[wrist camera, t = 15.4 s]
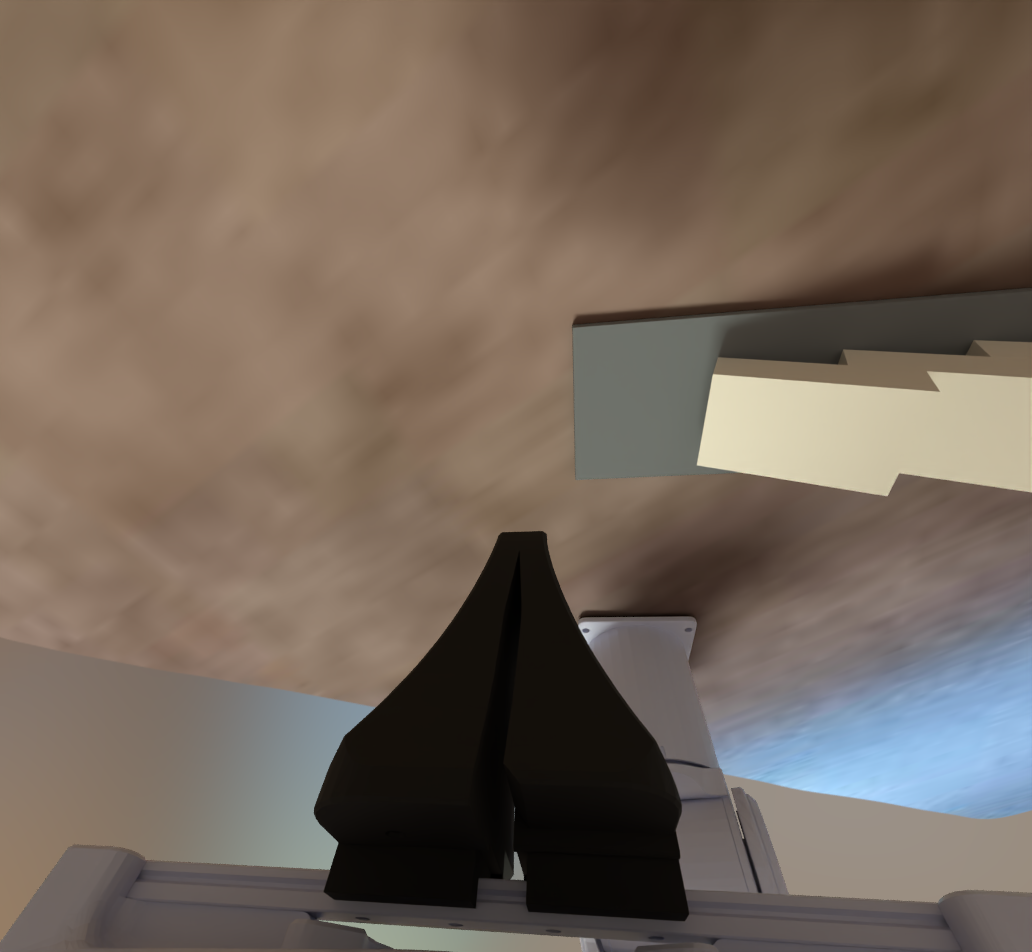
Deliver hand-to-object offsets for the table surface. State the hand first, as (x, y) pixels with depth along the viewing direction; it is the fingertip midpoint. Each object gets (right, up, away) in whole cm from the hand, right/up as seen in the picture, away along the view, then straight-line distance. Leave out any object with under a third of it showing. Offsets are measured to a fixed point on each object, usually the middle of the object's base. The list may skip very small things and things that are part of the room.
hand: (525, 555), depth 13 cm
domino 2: (+13, +5, +6) cm, 16 cm away
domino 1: (+8, +5, +6) cm, 12 cm away
